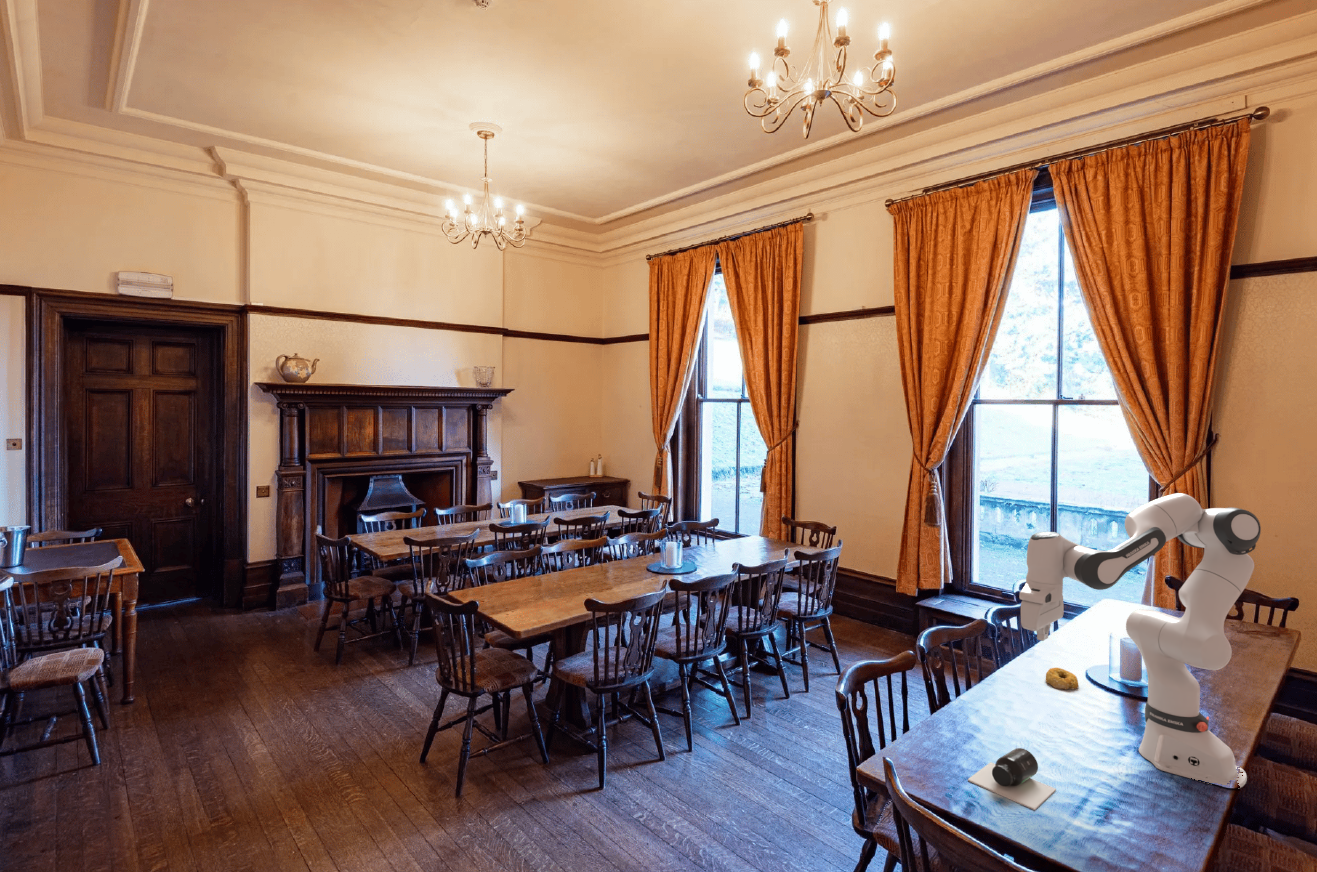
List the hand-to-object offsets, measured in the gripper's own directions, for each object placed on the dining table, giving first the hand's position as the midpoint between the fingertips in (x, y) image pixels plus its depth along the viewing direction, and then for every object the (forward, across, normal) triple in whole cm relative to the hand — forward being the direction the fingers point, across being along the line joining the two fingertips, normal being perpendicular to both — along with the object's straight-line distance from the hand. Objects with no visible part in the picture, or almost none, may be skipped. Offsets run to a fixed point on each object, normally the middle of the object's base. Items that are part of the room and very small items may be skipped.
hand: (1042, 639), depth 184 cm
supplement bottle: (+27, +18, +3) cm, 33 cm away
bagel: (+32, -52, -13) cm, 63 cm away
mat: (+31, +25, +3) cm, 40 cm away
